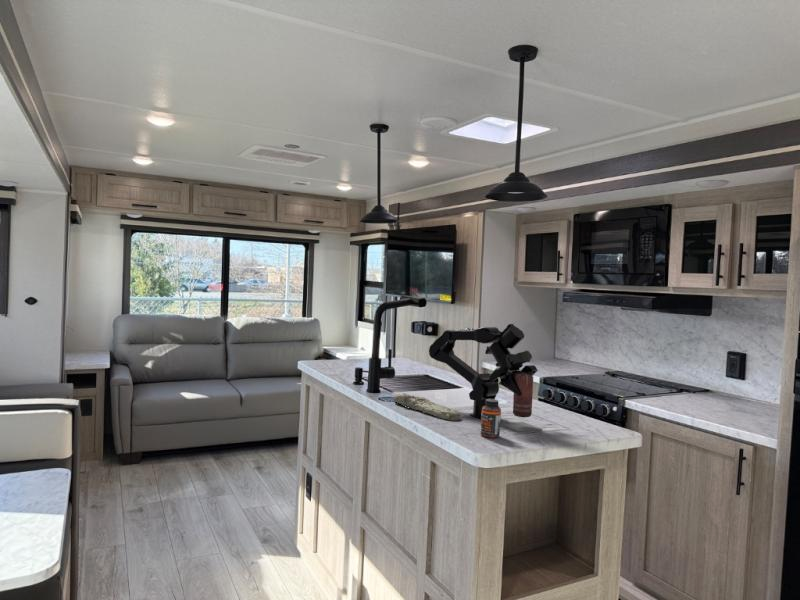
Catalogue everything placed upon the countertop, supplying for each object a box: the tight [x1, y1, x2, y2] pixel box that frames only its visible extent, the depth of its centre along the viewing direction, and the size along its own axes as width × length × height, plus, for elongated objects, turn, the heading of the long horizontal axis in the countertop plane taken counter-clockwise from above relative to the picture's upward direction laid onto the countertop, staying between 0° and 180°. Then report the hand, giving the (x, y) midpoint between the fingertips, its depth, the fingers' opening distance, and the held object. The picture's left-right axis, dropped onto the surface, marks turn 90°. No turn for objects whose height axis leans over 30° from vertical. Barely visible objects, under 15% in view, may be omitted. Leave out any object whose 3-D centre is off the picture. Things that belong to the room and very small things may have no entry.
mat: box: [500, 421, 543, 433], centre depth 191 cm, size 10×10×1 cm
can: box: [512, 373, 534, 418], centre depth 191 cm, size 6×6×14 cm
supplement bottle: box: [480, 398, 502, 439], centre depth 178 cm, size 6×6×11 cm
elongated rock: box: [393, 393, 461, 421], centre depth 211 cm, size 35×5×10 cm
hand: (526, 394), depth 189 cm, fingers closed on can, 5 cm apart
